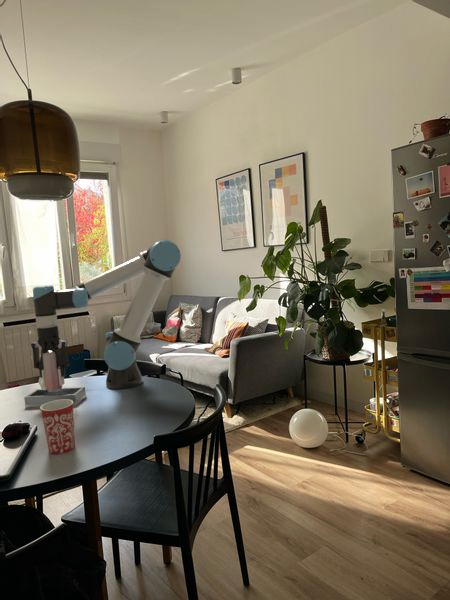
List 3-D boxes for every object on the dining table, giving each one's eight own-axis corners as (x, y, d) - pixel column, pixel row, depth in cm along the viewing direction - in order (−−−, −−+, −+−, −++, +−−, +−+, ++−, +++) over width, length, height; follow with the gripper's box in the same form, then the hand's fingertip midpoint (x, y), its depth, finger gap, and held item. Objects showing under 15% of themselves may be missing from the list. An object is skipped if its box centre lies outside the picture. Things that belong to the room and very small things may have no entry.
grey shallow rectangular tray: (86, 396, 180) (85, 386, 180) (76, 405, 170) (74, 395, 170) (38, 398, 182) (36, 389, 181) (25, 407, 172) (23, 397, 171)
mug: (78, 451, 129) (73, 406, 127) (44, 458, 126) (38, 412, 125) (78, 435, 141) (73, 393, 139) (47, 441, 138) (42, 398, 137)
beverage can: (47, 388, 178) (43, 351, 176) (63, 386, 179) (59, 349, 177) (45, 392, 172) (40, 354, 170) (61, 390, 173) (57, 352, 171)
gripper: (75, 323, 175) (81, 381, 178) (28, 325, 177) (35, 383, 180) (66, 326, 168) (73, 387, 171) (18, 329, 170) (25, 389, 172)
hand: (54, 385), depth 175 cm, fingers closed on beverage can, 6 cm apart
